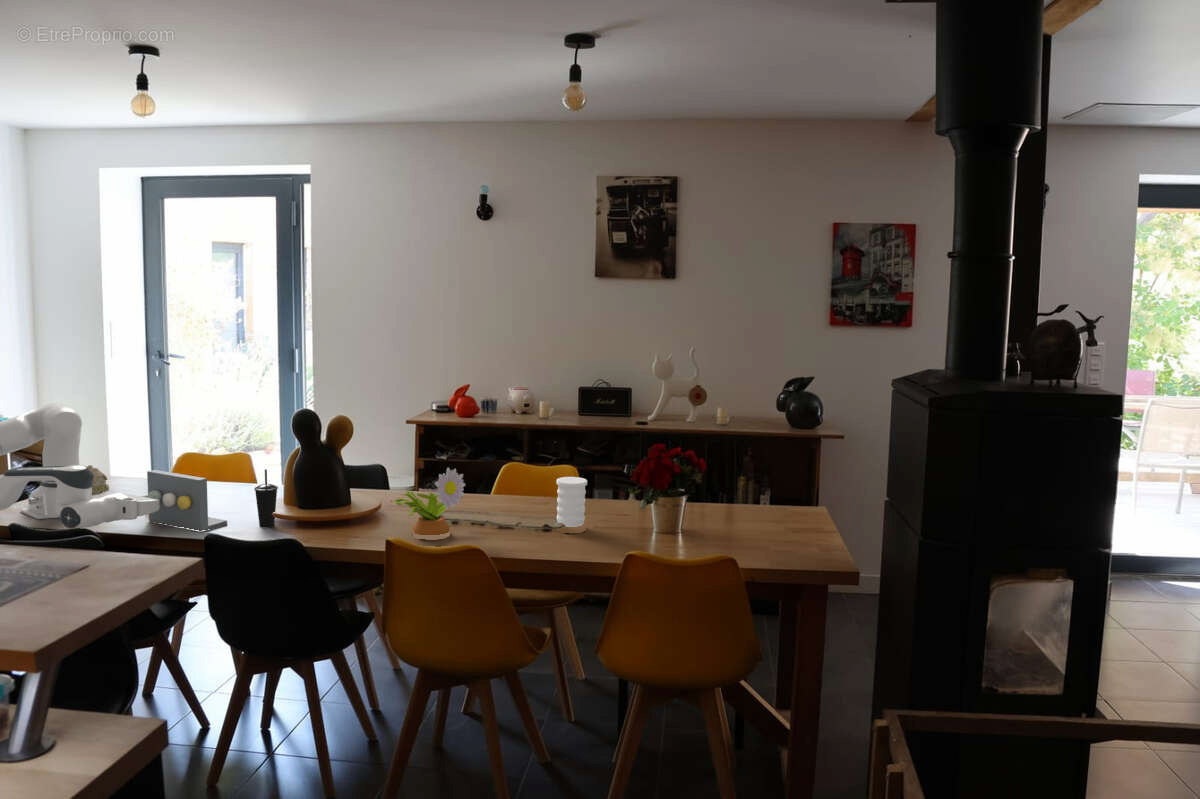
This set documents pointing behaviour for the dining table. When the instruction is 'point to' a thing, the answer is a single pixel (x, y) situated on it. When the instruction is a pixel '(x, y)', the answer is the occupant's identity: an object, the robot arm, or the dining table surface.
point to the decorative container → (571, 501)
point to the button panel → (180, 487)
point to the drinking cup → (266, 503)
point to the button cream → (169, 499)
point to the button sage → (156, 495)
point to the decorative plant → (430, 515)
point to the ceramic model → (98, 481)
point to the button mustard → (184, 502)
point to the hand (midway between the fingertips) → (152, 497)
